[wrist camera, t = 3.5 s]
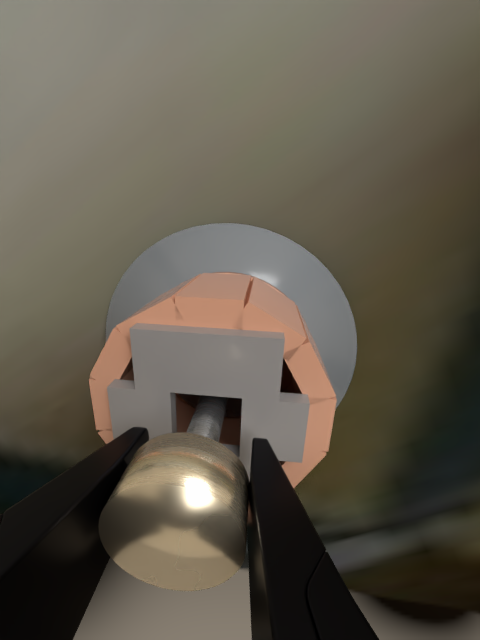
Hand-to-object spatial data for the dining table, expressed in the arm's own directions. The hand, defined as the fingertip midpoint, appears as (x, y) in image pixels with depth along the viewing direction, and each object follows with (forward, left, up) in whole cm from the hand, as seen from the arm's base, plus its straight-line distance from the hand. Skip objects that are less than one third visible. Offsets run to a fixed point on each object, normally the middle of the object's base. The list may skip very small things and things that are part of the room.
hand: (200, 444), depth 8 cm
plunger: (0, 0, -5) cm, 5 cm away
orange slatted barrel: (0, 0, -6) cm, 6 cm away
